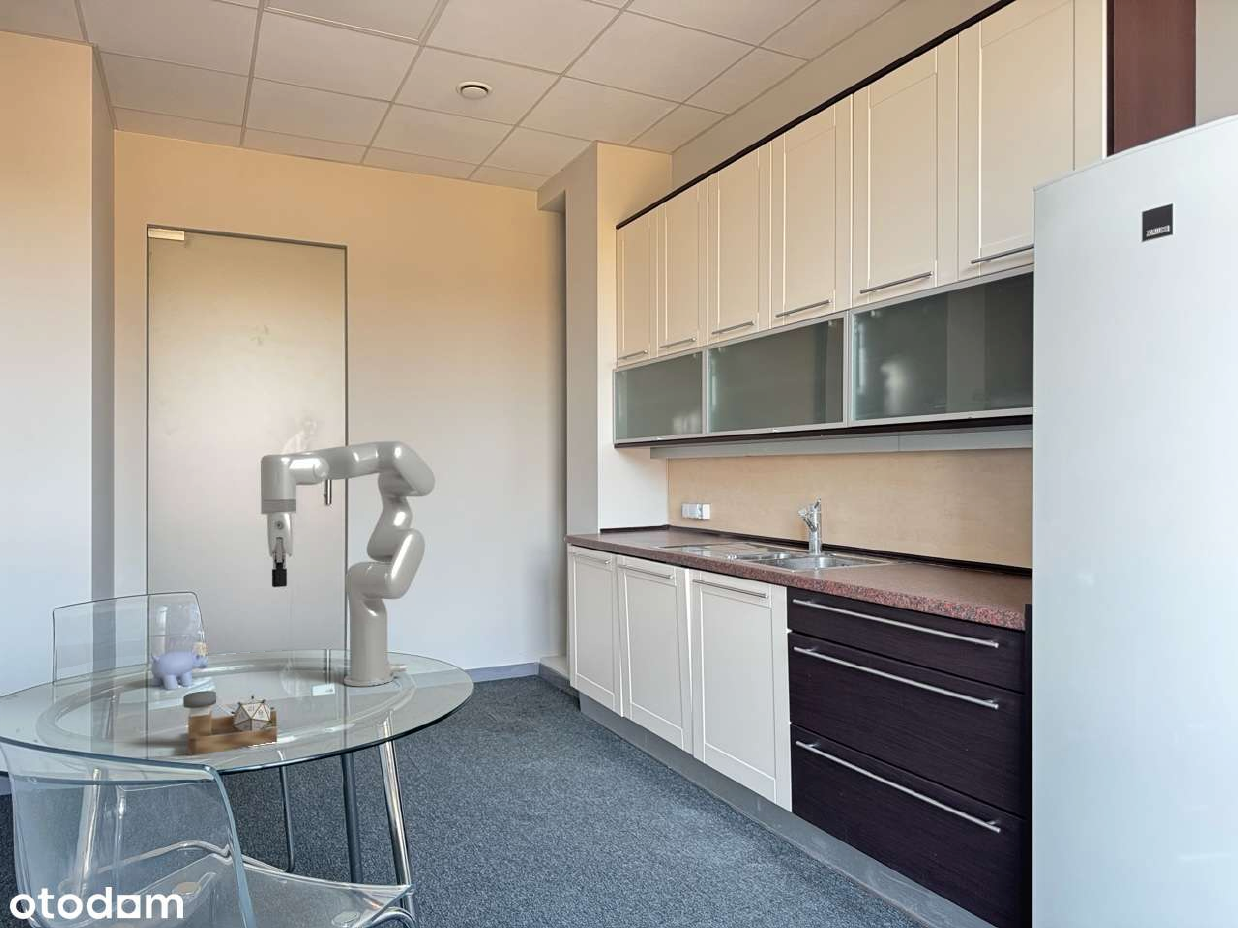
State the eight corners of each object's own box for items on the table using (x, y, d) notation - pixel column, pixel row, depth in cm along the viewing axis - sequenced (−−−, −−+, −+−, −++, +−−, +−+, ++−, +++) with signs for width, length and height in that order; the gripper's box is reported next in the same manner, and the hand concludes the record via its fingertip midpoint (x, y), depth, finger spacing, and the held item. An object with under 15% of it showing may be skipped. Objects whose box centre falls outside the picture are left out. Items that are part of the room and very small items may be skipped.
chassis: (276, 724, 181) (276, 688, 181) (276, 743, 168) (276, 705, 168) (192, 734, 174) (191, 697, 174) (185, 755, 161) (185, 715, 161)
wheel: (217, 707, 173) (216, 689, 173) (215, 715, 167) (215, 696, 167) (184, 711, 170) (184, 693, 170) (182, 719, 165) (181, 700, 165)
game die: (248, 751, 174) (250, 706, 180) (283, 738, 173) (283, 693, 179) (218, 742, 167) (220, 695, 173) (254, 728, 166) (255, 682, 171)
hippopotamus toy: (217, 680, 221) (217, 645, 221) (161, 693, 209) (161, 655, 209) (195, 675, 227) (195, 640, 227) (139, 687, 215) (139, 651, 215)
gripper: (297, 508, 186) (297, 589, 186) (295, 506, 200) (295, 581, 199) (260, 509, 183) (261, 591, 183) (261, 506, 197) (262, 583, 196)
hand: (279, 586), depth 191 cm, fingers closed
